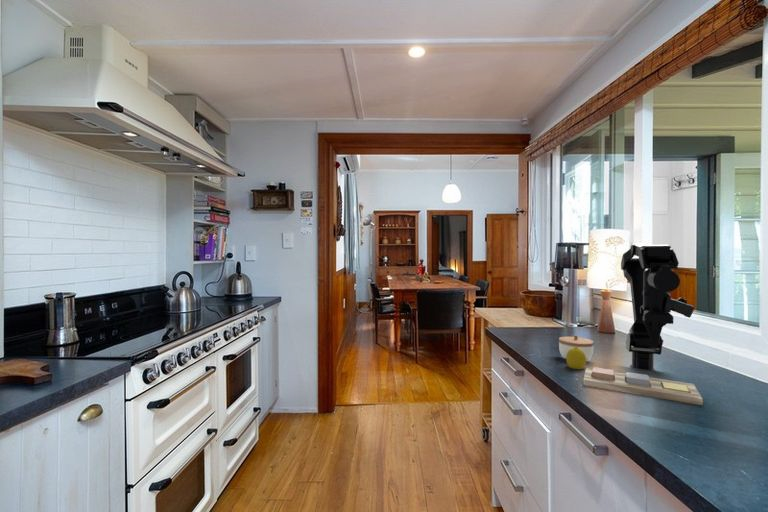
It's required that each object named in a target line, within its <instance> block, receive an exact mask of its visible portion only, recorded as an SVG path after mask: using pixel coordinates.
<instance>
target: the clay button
mask: <svg viewBox="0 0 768 512" xmlns="http://www.w3.org/2000/svg"><path fill="white" fill-rule="evenodd" d="M592 369H593V371H592V377H593V378H599V379H605V380H612V381H614V372H615V371H614V369H609V368H601V367H595V366H593V367H592Z"/></svg>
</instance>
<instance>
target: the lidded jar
mask: <svg viewBox="0 0 768 512" xmlns="http://www.w3.org/2000/svg"><path fill="white" fill-rule="evenodd" d="M594 345H595V343H594V341H593V340H592V339H589V338H584V337H580V336H578V335H577V334H574V335H573V336H560V337H558V347H559V348H558V350H559V353H560V355H561V357H562V358H563V359H565V360H566V357H567V353H568V351H569V350H570V349H572V348H575V347H578V348H579V349H581V350H582V351H583V352H584V354H585V356H586V362H589V361H590V359H591V358H592V357H593V352H594Z"/></svg>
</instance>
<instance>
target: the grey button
mask: <svg viewBox="0 0 768 512" xmlns="http://www.w3.org/2000/svg"><path fill="white" fill-rule="evenodd" d="M625 374H626V382H625V383H631V384H637V385H643V386H649V387H650V379H649V377H650V376H649V375H648V374H643V373H637V372H629V371H626V372H625Z"/></svg>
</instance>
